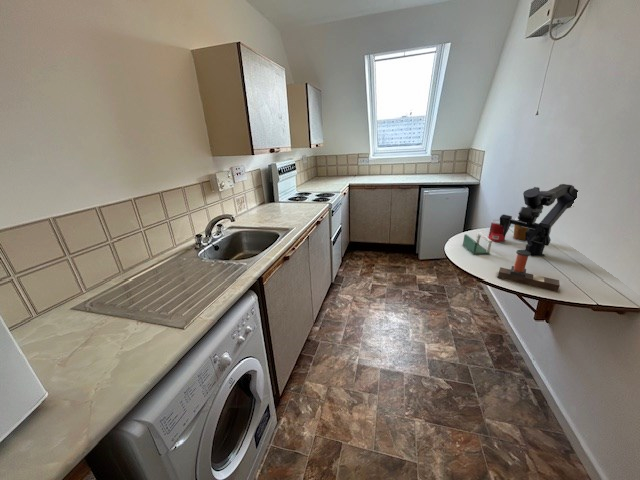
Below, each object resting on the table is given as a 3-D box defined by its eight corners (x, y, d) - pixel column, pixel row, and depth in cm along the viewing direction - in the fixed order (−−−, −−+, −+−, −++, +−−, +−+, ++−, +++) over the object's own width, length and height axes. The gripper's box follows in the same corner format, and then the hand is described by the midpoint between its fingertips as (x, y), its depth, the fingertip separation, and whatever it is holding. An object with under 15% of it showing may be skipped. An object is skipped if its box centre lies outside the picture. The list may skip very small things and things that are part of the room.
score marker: (510, 274, 111) (515, 253, 108) (511, 268, 116) (516, 248, 112) (524, 277, 108) (531, 256, 105) (525, 271, 113) (531, 250, 109)
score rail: (497, 277, 115) (498, 271, 114) (498, 272, 119) (500, 266, 118) (557, 292, 104) (559, 285, 102) (556, 286, 107) (559, 279, 106)
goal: (477, 244, 147) (479, 232, 145) (489, 254, 136) (492, 240, 134) (462, 245, 148) (464, 232, 145) (473, 254, 137) (475, 241, 134)
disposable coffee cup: (519, 234, 158) (525, 215, 154) (534, 240, 150) (540, 220, 145) (505, 236, 157) (510, 217, 153) (519, 242, 148) (525, 222, 144)
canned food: (507, 242, 150) (511, 223, 145) (492, 242, 150) (497, 224, 146) (498, 237, 157) (503, 219, 152) (485, 237, 157) (489, 219, 153)
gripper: (507, 197, 122) (491, 221, 118) (559, 205, 108) (542, 233, 105) (507, 213, 129) (492, 236, 126) (556, 223, 116) (540, 249, 112)
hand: (515, 238), depth 117 cm, fingers open, 9 cm apart
